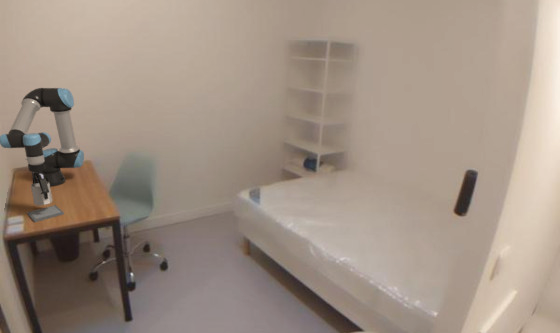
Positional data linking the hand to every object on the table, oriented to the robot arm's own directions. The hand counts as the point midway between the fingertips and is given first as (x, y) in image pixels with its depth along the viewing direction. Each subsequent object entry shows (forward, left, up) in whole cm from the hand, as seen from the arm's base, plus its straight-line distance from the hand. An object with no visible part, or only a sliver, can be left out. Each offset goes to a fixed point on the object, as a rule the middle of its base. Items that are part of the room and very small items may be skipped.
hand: (43, 200), depth 190 cm
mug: (0, 0, -2) cm, 2 cm away
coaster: (0, 0, -8) cm, 8 cm away
